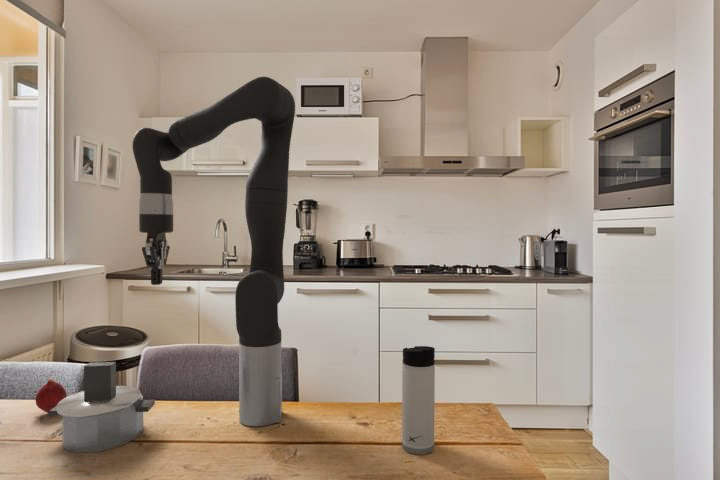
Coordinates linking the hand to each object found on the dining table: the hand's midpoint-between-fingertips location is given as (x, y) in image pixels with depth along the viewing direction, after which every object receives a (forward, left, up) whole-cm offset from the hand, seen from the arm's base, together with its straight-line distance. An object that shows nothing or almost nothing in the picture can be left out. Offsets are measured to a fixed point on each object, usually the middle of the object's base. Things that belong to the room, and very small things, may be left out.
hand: (156, 284), depth 108 cm
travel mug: (-58, +29, -29) cm, 71 cm away
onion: (+22, +4, -29) cm, 37 cm away
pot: (+5, +17, -29) cm, 34 cm away
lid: (+5, +19, -22) cm, 29 cm away
